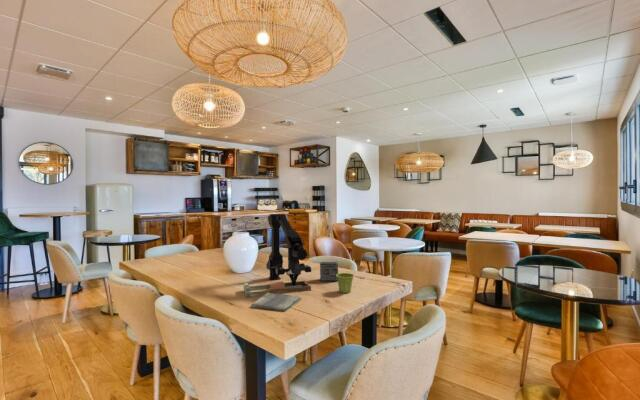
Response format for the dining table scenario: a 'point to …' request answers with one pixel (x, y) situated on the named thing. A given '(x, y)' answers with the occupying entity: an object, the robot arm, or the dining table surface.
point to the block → (277, 285)
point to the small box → (328, 271)
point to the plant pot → (345, 282)
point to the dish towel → (276, 302)
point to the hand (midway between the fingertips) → (293, 285)
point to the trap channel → (289, 288)
